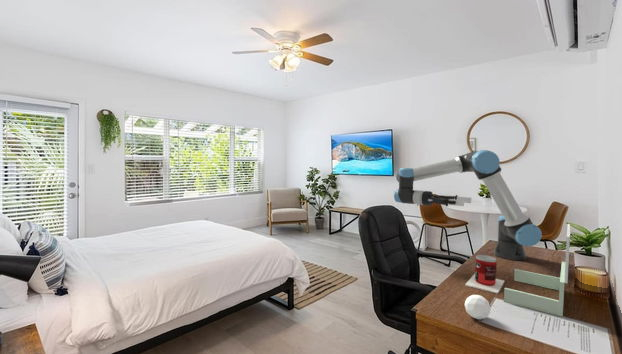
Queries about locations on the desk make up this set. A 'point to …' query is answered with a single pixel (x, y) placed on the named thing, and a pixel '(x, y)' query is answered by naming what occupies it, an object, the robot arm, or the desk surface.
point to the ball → (477, 306)
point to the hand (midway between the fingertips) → (467, 201)
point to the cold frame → (543, 281)
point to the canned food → (485, 270)
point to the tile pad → (492, 289)
